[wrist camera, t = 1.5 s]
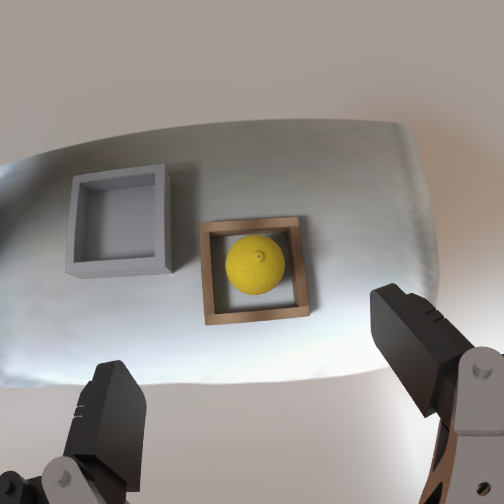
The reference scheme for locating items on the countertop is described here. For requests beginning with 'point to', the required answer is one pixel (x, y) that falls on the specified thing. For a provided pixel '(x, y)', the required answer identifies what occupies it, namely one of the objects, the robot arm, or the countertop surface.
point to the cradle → (246, 228)
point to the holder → (120, 223)
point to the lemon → (255, 264)
